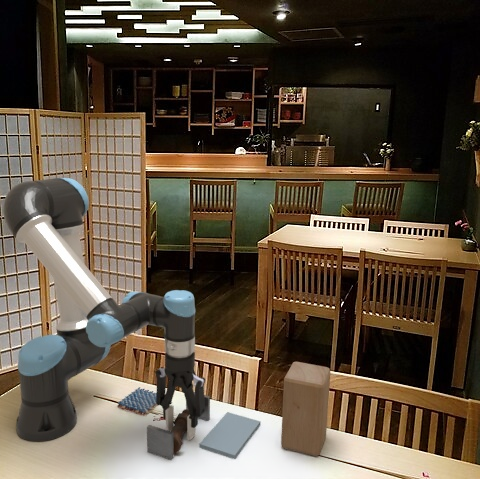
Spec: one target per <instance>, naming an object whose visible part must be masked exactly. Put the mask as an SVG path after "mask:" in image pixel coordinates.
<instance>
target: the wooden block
mask: <svg viewBox="0 0 480 479" xmlns="http://www.w3.org/2000/svg"><path fill="white" fill-rule="evenodd" d="M289 367H290V368H289V370H288V371H287V373H286V375H285V377H284V378H283V396H282V415H281V416H282V417H281V418H282V419H281V433H280V435H281V437H280V438H281V440H280V445H281V448H283V449H286V450H289V451H293V452H298V453H301V454H305V455H308V456H309V455H310V456H314V457H318V456H320V454H321V451H322V448H323V445H324V442H325V439H326V437H327V428H328V427H327V426H328V413H329V398H330V397H329V396H330V384H331V369H330V368H329V367H327V366H323V365H318V364H317V365H316V364H311V363H307V362H300V361H294V362H292V364H291V366H289Z"/></svg>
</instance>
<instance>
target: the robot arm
mask: <svg viewBox="0 0 480 479" xmlns="http://www.w3.org/2000/svg"><path fill="white" fill-rule="evenodd" d="M89 202H90V201H89V196H88V193H87V192H86V189H85V188H84V186H83V185H82V184H80V183H79V182H78V181H77V180H75V179H73V178H69V177H55V178H49V179H47V178H46V179H38V180H28V181H22V182H19V183H17V184H16V185H14V186H13V187H12V188H10V190H9V191H8V192H7V194H6V196H5V198H4V201H3V206H2V211H3V212H2V213H3V217H4V222H5V223H6V224H5V225H6V226H7V229H8V230H9V232H10V233H11V234H12V236H13V237H14V239H16V240H17V242H18V243H20V244H21V243H22V244H25V245H26V246H27V247H28V248H29V250H30V251H31V253H33V255H34V256H35V257H36V259H38V261H39V262H40V263H41V264H42V266H43V267H44V268H45V269H46V271H48V273H49V275H50V276H51V277H52V278H53V282H54V288H55V296H56V301H57V307H58V313H59V317H60V318H59V319H60V321H58V323H57V325H56V326H55V329H56V334H45V335H44V336H38V337H34V338H32V339H30V340H29V341H27V342H26V343H24V344H23V345H22V346H21V348H20V349H19V351H18V357H17V358H18V359H17V360H18V363H17V369H18V374H19V386H20V396H21V397H20V398H21V403H20V408H19V412H18V416H17V418H16V422H15V426H16V427H15V428H16V434H17V435H18V436H19V438H21V439H23V440H25V441H29V442H46V441H51V440H54V439H55V440H56V439H57V438H60V437H62V436H64V435H66V434H68V433H69V432H71V431H72V430H73V429H74V428H75V426H76V425H77V422H78V417H77V416H78V412H77V409H76V407H75V406H74V402H73V400H72V398H71V396H70V392H69V380H71V379H73V378H74V377H76V376H78V375H79V374H81V373H83V372H85V371H87V370H88V369H90V368H91V367H94V366H96V365H98V364H99V363H100V362H101V361H102V360H104V359H105V358H106V357H107V356H108V354H109V353H110V349H111V346H112V345H113V344H116V343H118V342H120V341H122V340H123V339H125V338H126V337H128V336H130V335H131V334H133V333H136V332H138V331H139V330H141V329H142V328H144V327H146V326H148V325H149V326H154V327H159V328H164V330H163V331H164V366H165V367H163V366H161V367H159V368H158V369H156V370H155V371H154V372H155V376H156V392H155V393H156V405H158V406H160V407H161V408H162V417H163V420H165V430H167V431H170V432H171V430H172V428H173V426H174V423H173V422H174V420H175V418H174V412H175V410H174V405H171V404H172V403H173V402H172V401H173V398H174V394H175V391H176V388H177V387H179V388H180V389H181V391H182V393H183V394H184V398H185V404H186V403H187V406H188V410H189V413H190V415H189V416H188V417H187V432H186V433H187V438H186V440H188V441H191V440H192V439H193V437H194V436H195V435H196V427H197V426H198V424H199V418H198V417H200V416H201V415H202V414H203V413H204V412H205V401H204V395H205V382H206V378H205V377H199V376H197V375H196V371H195V366H196V353H195V350H196V336H195V333H196V332H195V328H196V327H195V326H196V325H195V322H196V320H195V318H196V307H195V306H196V305H195V297H194V294H193V293H192V292H191V291H188V290H179V289H175V290H170V291H167V292H166V293H165V295H164V296H160V295H156V294H151V293H148V292H146V291H145V292H144V291H130V292H128V293H127V294H126V296H125V297H124V298H123V299H122V302H121V304H118V302H116V301H115V299H114V298H113V297H112V296H111V294H110V293H109V292H108V291H107V290H106V289H105V287H104V286H103V285H102V284H101V283H100V282H99V280H98V279H97V278H96V277H95V274H93V273H92V272H91V270H90V269H89V268H88V267H87V265H86V264H85V262H84V256H83V249H82V244H81V243H82V242H81V238H80V230H81V229H82V227H83V226H84V220H83V217H84V216H85V215H86V214H87V212H88V210H89V207H90V203H89ZM167 379H168V382H167ZM193 382H194V383H193ZM193 388H194V389H193ZM194 392H195V395H194Z"/></svg>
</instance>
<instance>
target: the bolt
mask: <svg viewBox="0 0 480 479" xmlns="http://www.w3.org/2000/svg"><path fill="white" fill-rule="evenodd" d="M189 415H190V413H189V410H187V409H186V408H185V409H183V410H182V412H179V413H178V414H177V416H176V417H175V418H174V422H173V423H174V426H173V428H172V430H171V431H170V432H173V442H174V456H175V455H177V454H178V452H179V451H180V450H181V448H182V446H183V444H184V442H183V441H182V437H183V436H184V434H185V432H186V433H187V417H188V416H189Z"/></svg>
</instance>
